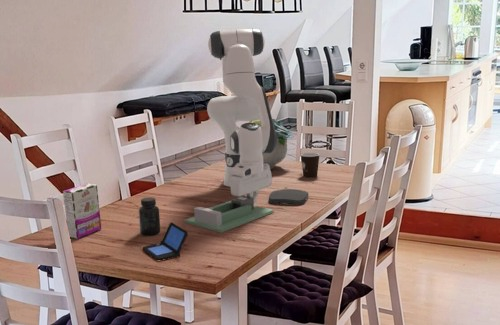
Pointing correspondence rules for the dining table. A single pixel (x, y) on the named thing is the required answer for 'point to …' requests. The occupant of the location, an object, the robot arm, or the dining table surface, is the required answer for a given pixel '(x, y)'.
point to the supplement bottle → (149, 217)
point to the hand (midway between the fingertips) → (252, 202)
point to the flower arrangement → (282, 144)
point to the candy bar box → (82, 210)
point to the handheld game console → (168, 243)
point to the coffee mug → (310, 164)
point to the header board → (235, 222)
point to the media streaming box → (288, 197)
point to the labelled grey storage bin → (242, 202)
